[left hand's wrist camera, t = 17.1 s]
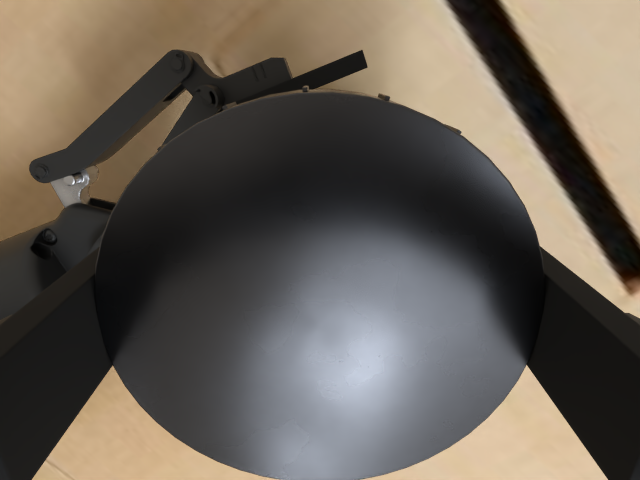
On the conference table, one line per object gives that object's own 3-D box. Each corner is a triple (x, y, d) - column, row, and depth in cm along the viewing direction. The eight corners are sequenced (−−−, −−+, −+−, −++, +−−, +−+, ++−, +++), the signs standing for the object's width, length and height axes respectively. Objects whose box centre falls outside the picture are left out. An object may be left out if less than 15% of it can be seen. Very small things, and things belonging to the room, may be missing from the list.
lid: (196, 462, 15) (182, 507, 13) (52, 144, 10) (7, 155, 9) (523, 410, 14) (548, 451, 12) (508, 38, 10) (544, 31, 8)
